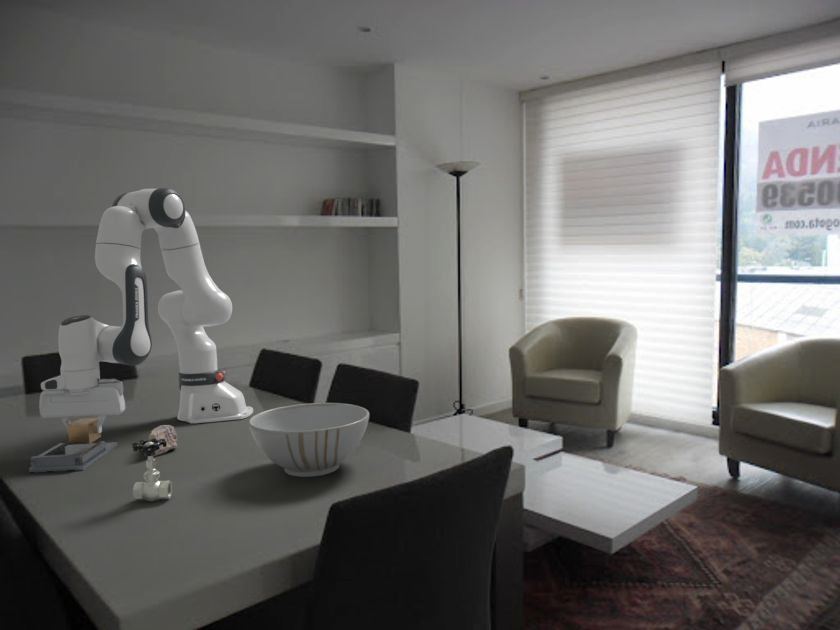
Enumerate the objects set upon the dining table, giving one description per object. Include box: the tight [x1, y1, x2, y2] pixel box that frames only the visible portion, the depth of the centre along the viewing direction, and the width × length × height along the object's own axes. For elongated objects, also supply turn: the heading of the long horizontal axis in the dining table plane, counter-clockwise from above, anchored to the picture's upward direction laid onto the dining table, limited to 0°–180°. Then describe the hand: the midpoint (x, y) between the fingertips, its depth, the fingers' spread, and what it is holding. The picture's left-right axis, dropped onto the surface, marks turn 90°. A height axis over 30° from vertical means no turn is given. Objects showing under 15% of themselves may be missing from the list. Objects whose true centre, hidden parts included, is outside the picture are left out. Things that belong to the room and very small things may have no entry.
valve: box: [131, 438, 173, 502], centre depth 134 cm, size 7×7×12 cm
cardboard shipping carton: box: [67, 417, 102, 445], centre depth 171 cm, size 5×7×5 cm
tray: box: [28, 440, 119, 474], centre depth 166 cm, size 12×20×4 cm, turn 3°
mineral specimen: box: [148, 424, 178, 458], centre depth 170 cm, size 13×7×6 cm, turn 17°
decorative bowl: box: [248, 402, 370, 478], centre depth 151 cm, size 27×27×12 cm
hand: (84, 433), depth 171 cm, fingers closed on cardboard shipping carton, 5 cm apart
